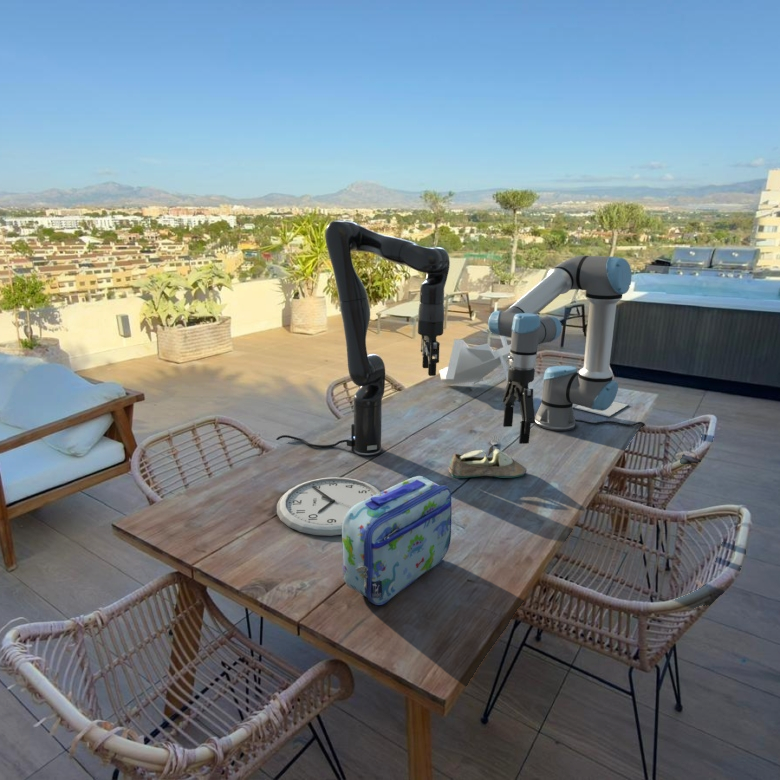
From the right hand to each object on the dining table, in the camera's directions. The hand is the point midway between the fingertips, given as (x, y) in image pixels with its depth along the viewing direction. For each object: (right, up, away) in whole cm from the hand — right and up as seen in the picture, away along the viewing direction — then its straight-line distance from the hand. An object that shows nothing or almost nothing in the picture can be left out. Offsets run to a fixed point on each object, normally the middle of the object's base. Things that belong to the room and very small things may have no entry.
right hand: (515, 434), depth 159 cm
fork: (-3, -7, +22) cm, 23 cm away
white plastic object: (+3, +12, +84) cm, 85 cm away
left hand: (-26, +19, -1) cm, 33 cm away
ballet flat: (-8, -13, +3) cm, 15 cm away
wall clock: (-54, -18, -16) cm, 59 cm away
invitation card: (+53, +6, +67) cm, 86 cm away
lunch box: (-36, -27, -45) cm, 64 cm away
